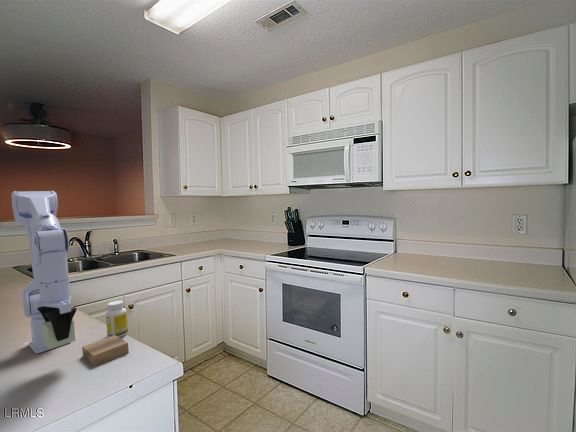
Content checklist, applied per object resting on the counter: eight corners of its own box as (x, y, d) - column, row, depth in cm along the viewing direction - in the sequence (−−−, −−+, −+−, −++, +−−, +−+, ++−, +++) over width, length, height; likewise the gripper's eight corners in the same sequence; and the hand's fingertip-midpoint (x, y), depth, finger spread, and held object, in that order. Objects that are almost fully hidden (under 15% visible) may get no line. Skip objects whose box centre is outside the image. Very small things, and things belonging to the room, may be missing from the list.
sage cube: (43, 343, 73) (41, 323, 73) (68, 335, 77) (66, 316, 76) (49, 349, 70) (47, 327, 69) (75, 340, 74) (73, 320, 73)
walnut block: (83, 358, 79) (82, 346, 79) (116, 345, 85) (115, 335, 85) (94, 367, 74) (93, 355, 74) (128, 353, 80) (127, 342, 80)
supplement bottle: (131, 330, 94) (129, 299, 93) (122, 338, 88) (120, 305, 88) (113, 331, 94) (111, 300, 93) (103, 339, 88) (100, 306, 88)
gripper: (24, 280, 74) (30, 335, 75) (41, 289, 65) (47, 351, 65) (60, 273, 79) (64, 324, 80) (79, 281, 70) (84, 339, 71)
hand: (59, 336), depth 73 cm, fingers closed on sage cube, 5 cm apart
